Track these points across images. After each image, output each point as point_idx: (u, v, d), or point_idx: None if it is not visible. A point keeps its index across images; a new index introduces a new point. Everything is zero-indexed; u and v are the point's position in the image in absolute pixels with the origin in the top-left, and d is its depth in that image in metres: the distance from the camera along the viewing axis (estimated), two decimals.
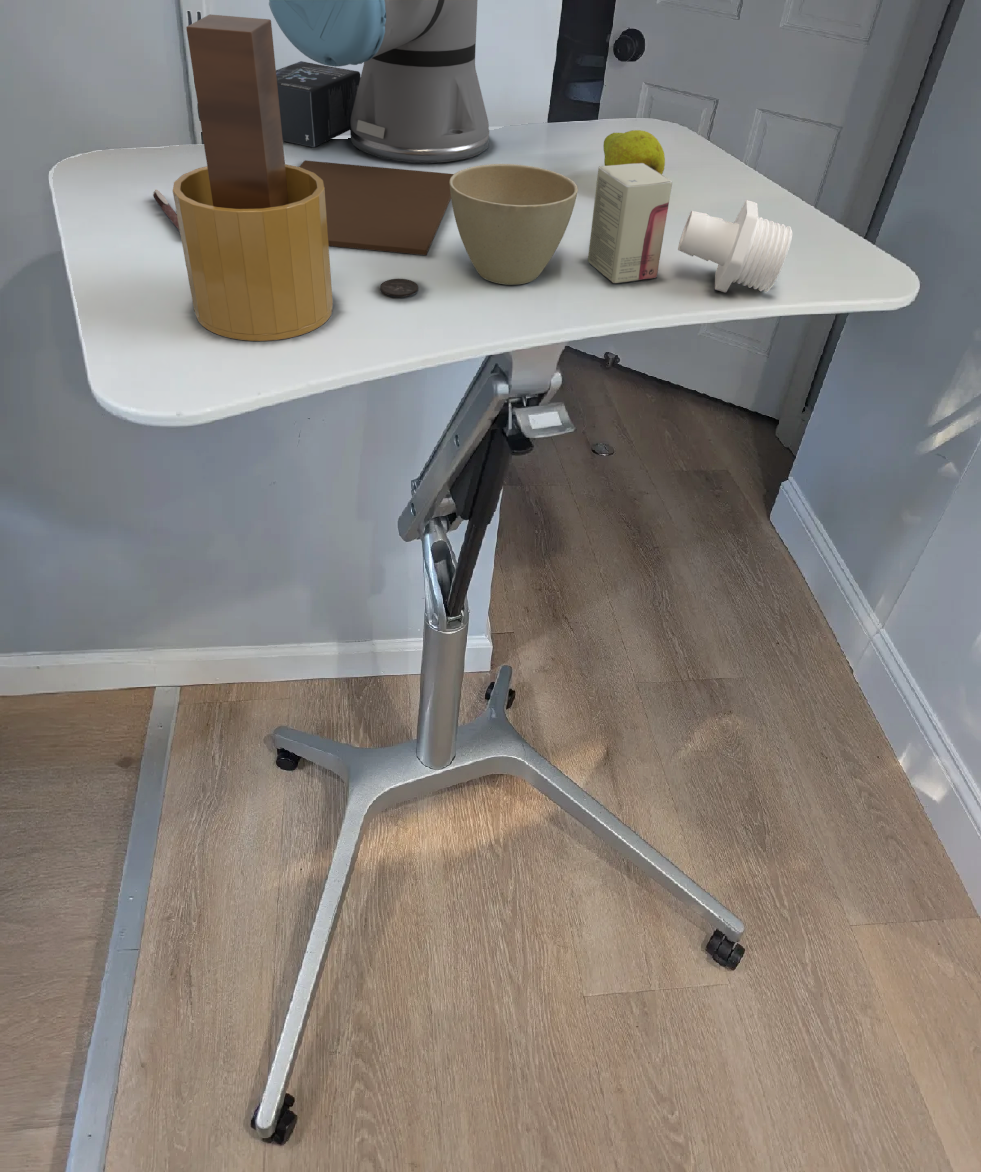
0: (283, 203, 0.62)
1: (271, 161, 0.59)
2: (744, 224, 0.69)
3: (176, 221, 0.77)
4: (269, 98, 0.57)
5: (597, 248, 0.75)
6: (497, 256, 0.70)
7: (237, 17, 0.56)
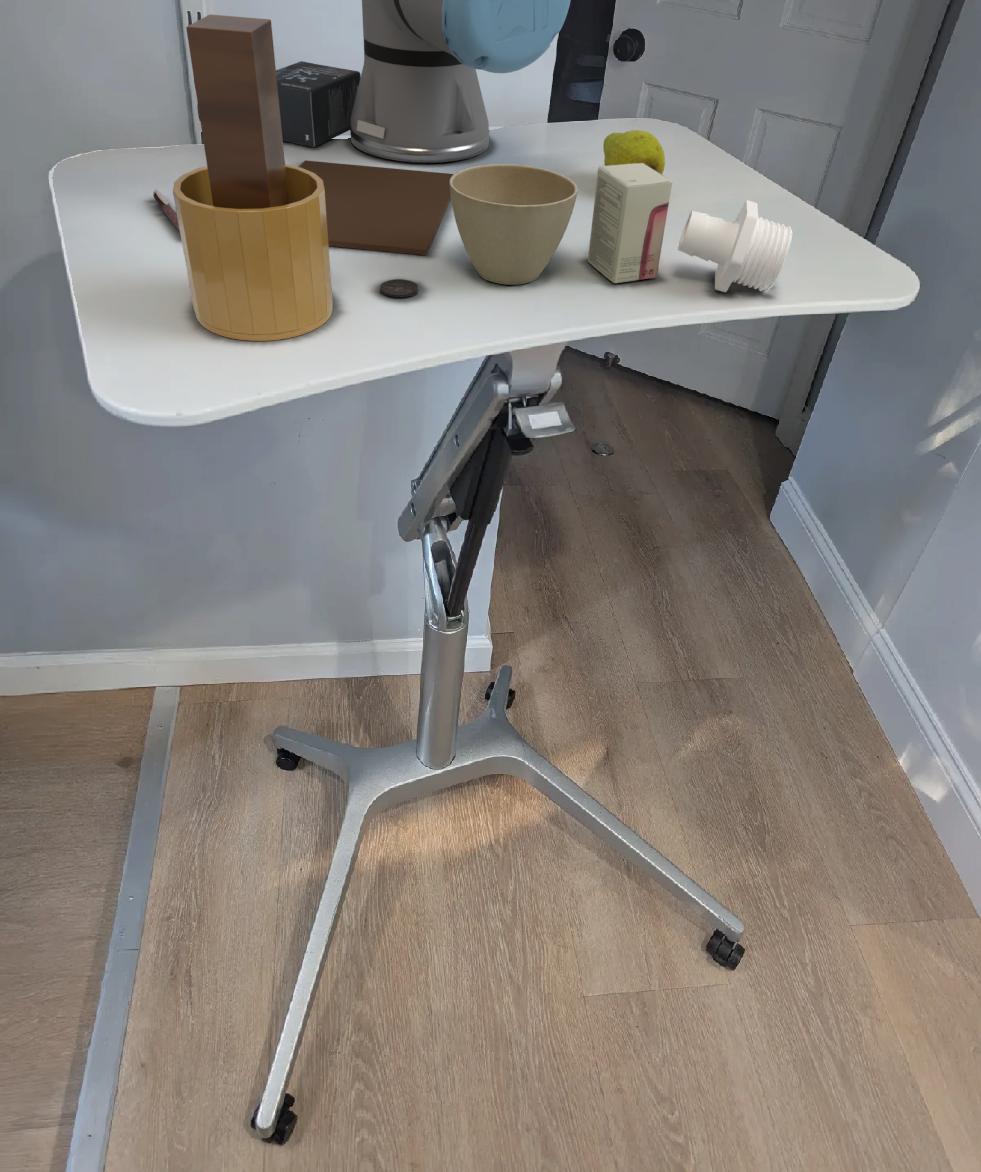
0: (283, 203, 0.62)
1: (271, 161, 0.59)
2: (744, 224, 0.69)
3: (176, 221, 0.77)
4: (269, 98, 0.57)
5: (597, 248, 0.75)
6: (497, 256, 0.70)
7: (237, 17, 0.56)
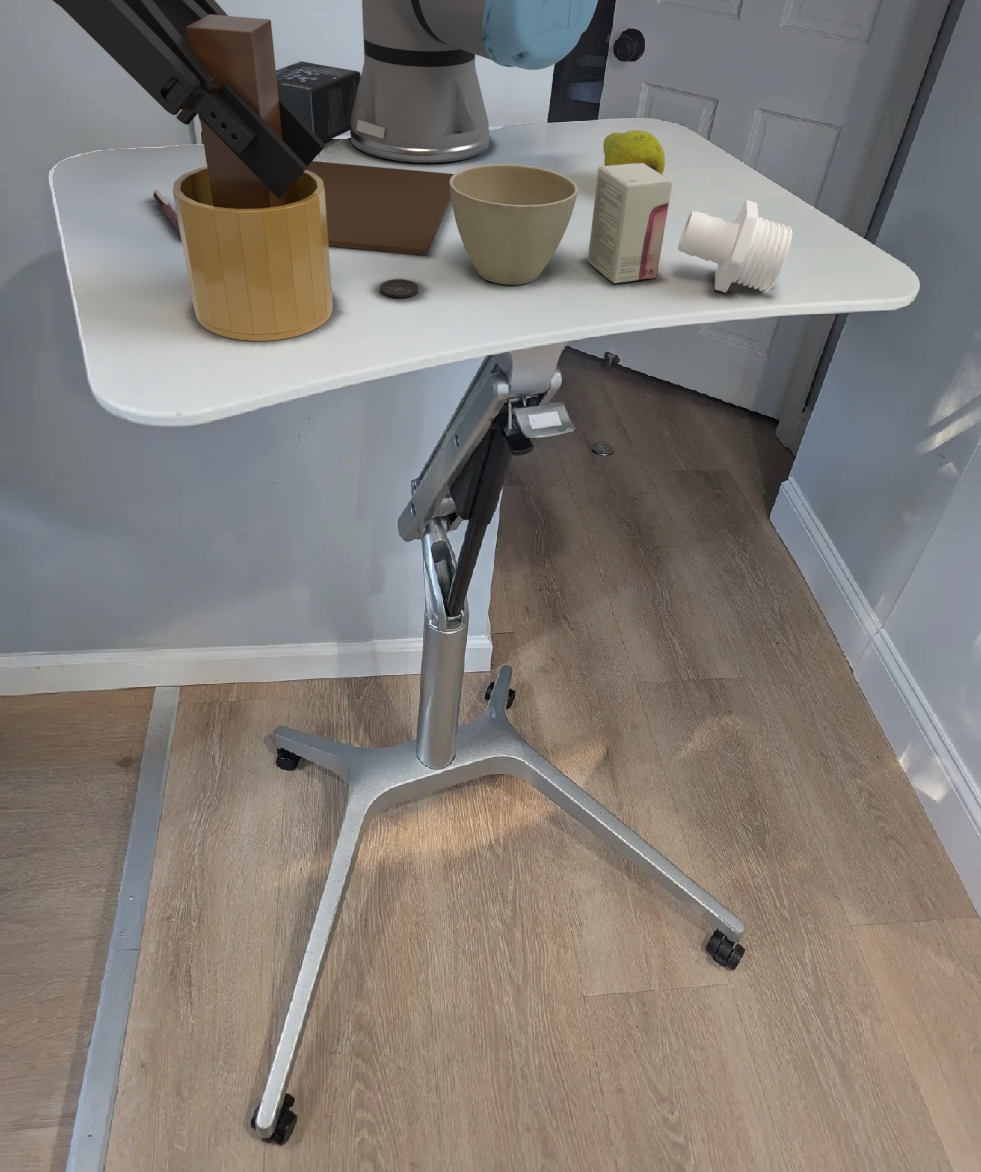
0: (282, 203, 0.62)
1: None
2: (744, 224, 0.69)
3: (176, 221, 0.77)
4: (269, 98, 0.57)
5: (597, 248, 0.75)
6: (497, 256, 0.70)
7: (237, 17, 0.56)
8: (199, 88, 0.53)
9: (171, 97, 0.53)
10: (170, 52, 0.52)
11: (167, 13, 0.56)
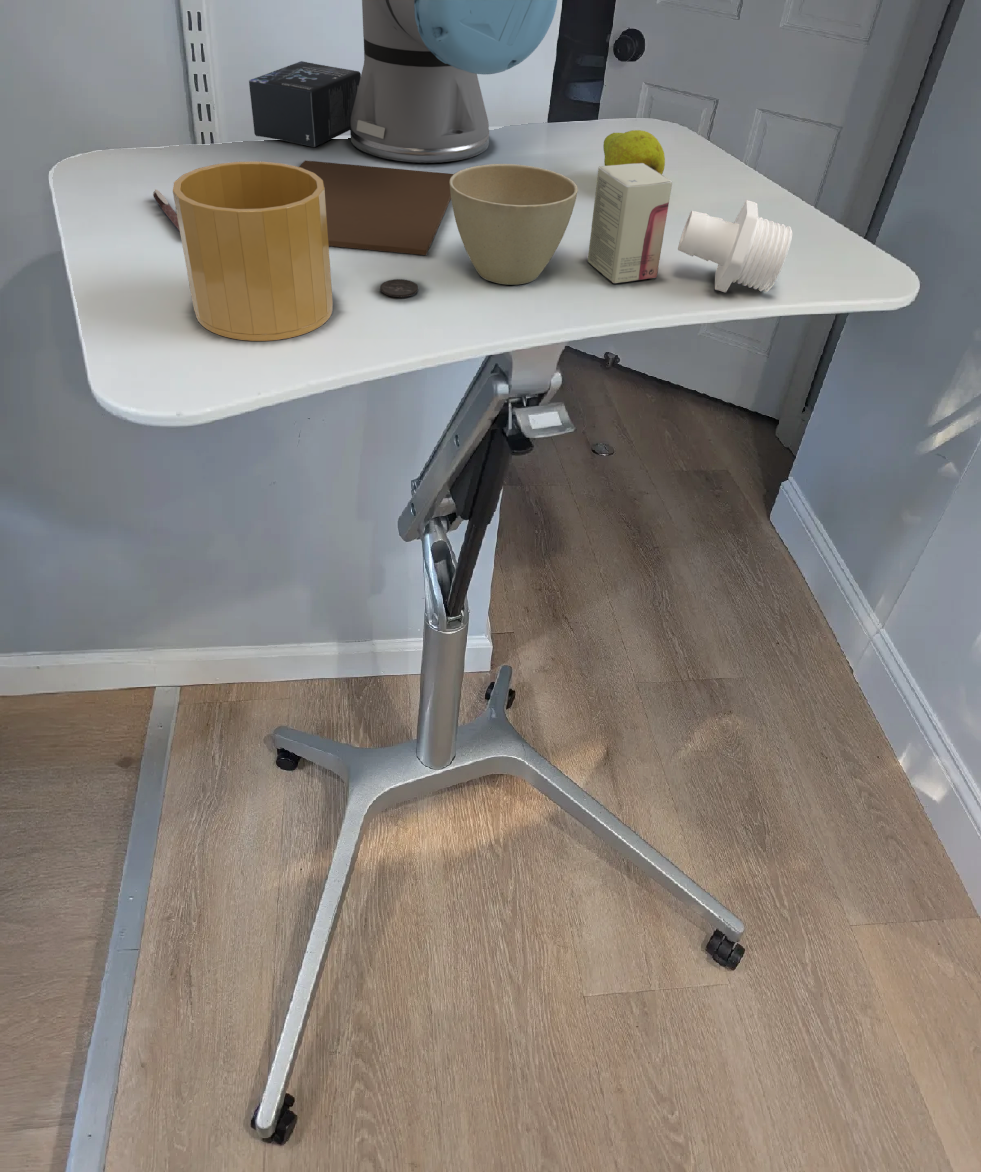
0: None
1: None
2: (744, 224, 0.69)
3: (176, 221, 0.77)
4: None
5: (597, 248, 0.75)
6: (497, 256, 0.70)
7: None
8: None
9: None
10: None
11: None
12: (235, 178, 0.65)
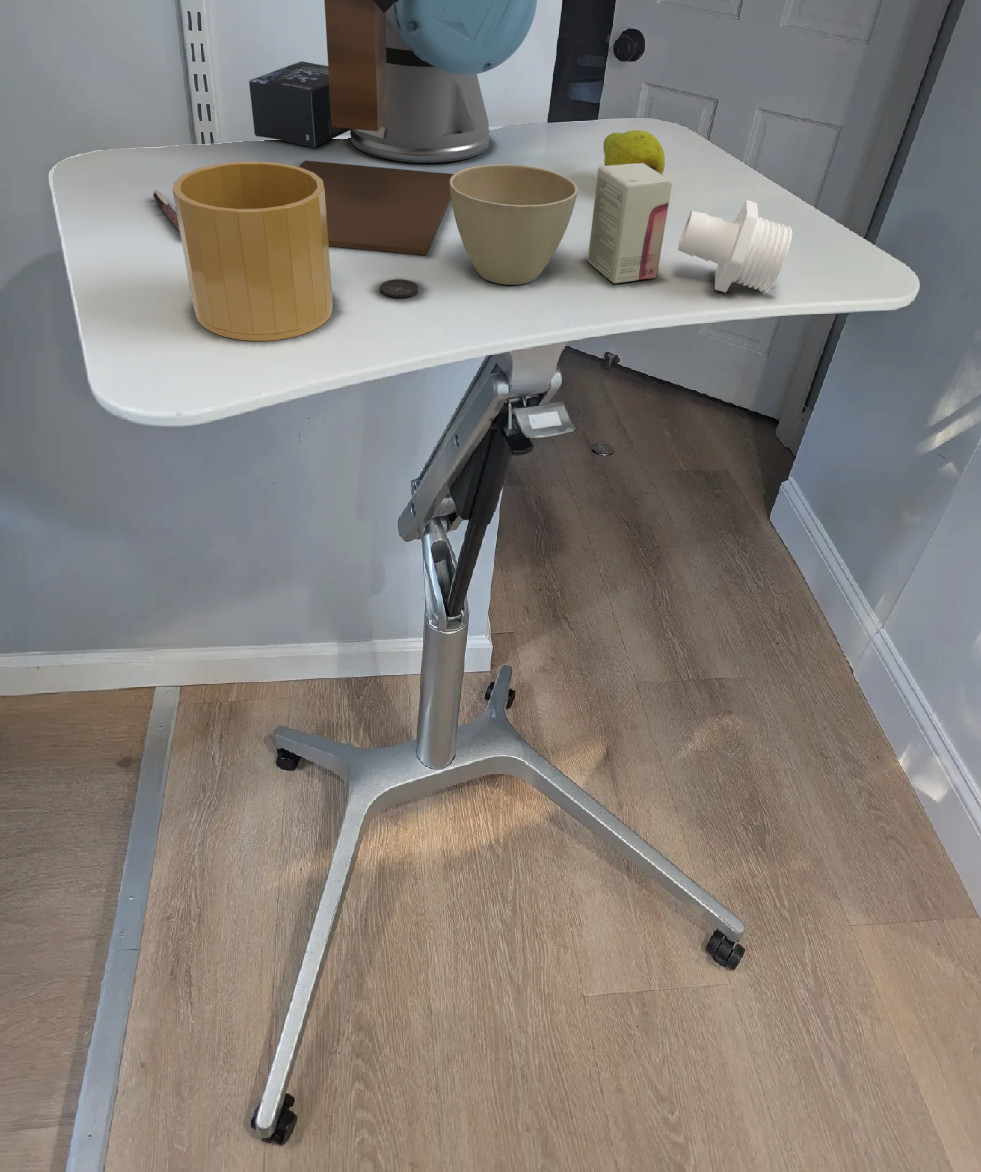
0: (382, 26, 0.73)
1: None
2: (744, 224, 0.69)
3: (176, 221, 0.77)
4: None
5: (597, 248, 0.75)
6: (497, 256, 0.70)
7: None
8: None
9: None
10: None
11: None
12: (235, 178, 0.65)
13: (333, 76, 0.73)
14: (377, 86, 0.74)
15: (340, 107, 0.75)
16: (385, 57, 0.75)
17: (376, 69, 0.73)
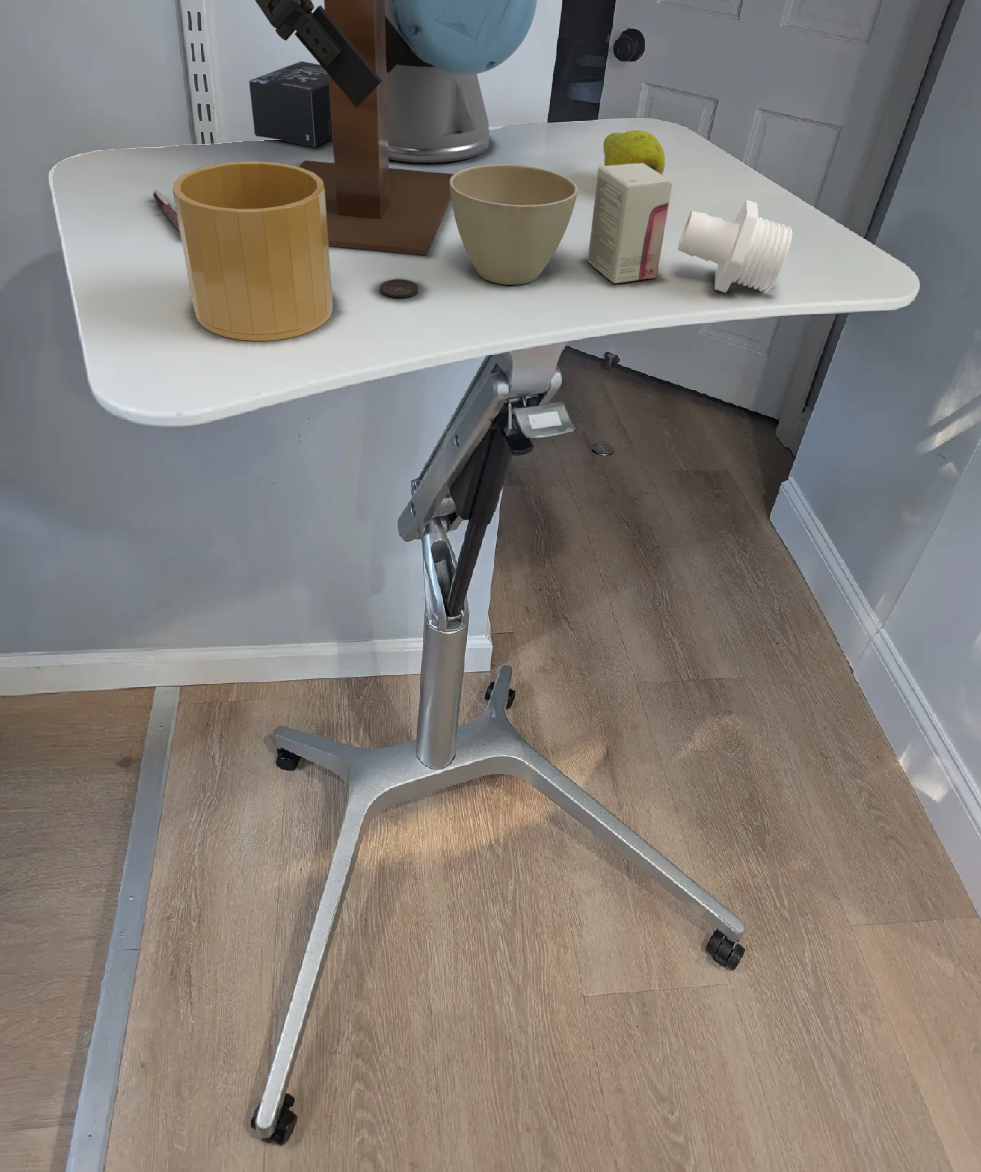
0: (384, 123, 0.78)
1: (380, 87, 0.75)
2: (744, 224, 0.69)
3: (176, 221, 0.77)
4: (380, 35, 0.73)
5: (597, 248, 0.75)
6: (497, 256, 0.70)
7: None
8: (299, 7, 0.65)
9: (275, 10, 0.64)
10: None
11: None
12: (235, 178, 0.65)
13: (339, 170, 0.78)
14: (380, 178, 0.79)
15: (345, 197, 0.80)
16: (387, 149, 0.80)
17: (379, 164, 0.78)
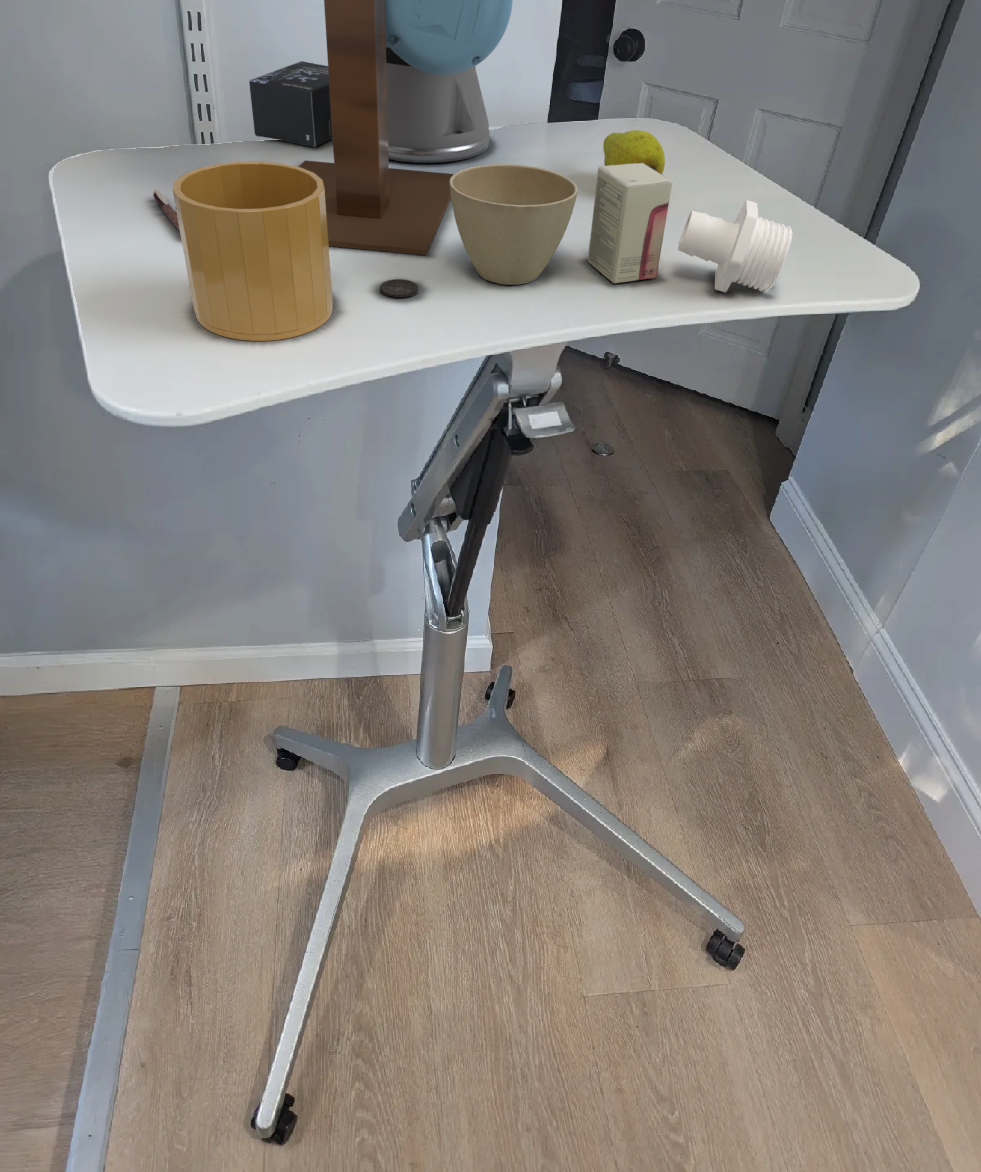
0: (384, 123, 0.78)
1: (380, 87, 0.75)
2: (744, 224, 0.69)
3: (176, 221, 0.77)
4: (380, 35, 0.73)
5: (597, 248, 0.75)
6: (497, 256, 0.70)
7: None
8: None
9: None
10: None
11: None
12: (235, 178, 0.65)
13: (339, 170, 0.78)
14: (380, 178, 0.79)
15: (345, 197, 0.80)
16: (387, 149, 0.80)
17: (379, 164, 0.78)
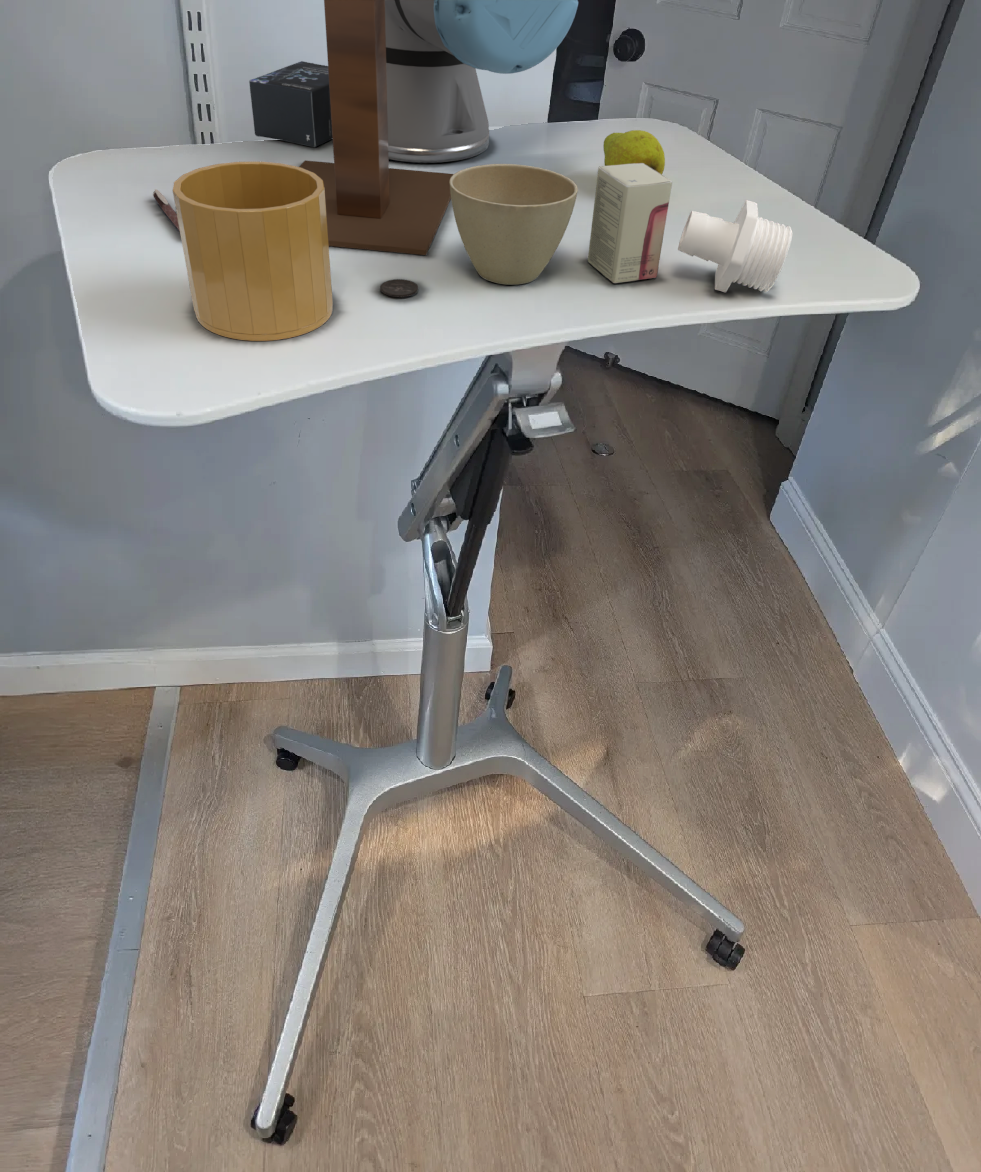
0: (384, 123, 0.78)
1: (380, 87, 0.75)
2: (744, 224, 0.69)
3: (176, 221, 0.77)
4: (380, 35, 0.73)
5: (597, 248, 0.75)
6: (497, 256, 0.70)
7: None
8: None
9: None
10: None
11: None
12: (235, 178, 0.65)
13: (339, 170, 0.78)
14: (380, 178, 0.79)
15: (345, 197, 0.80)
16: (387, 149, 0.80)
17: (379, 164, 0.78)
